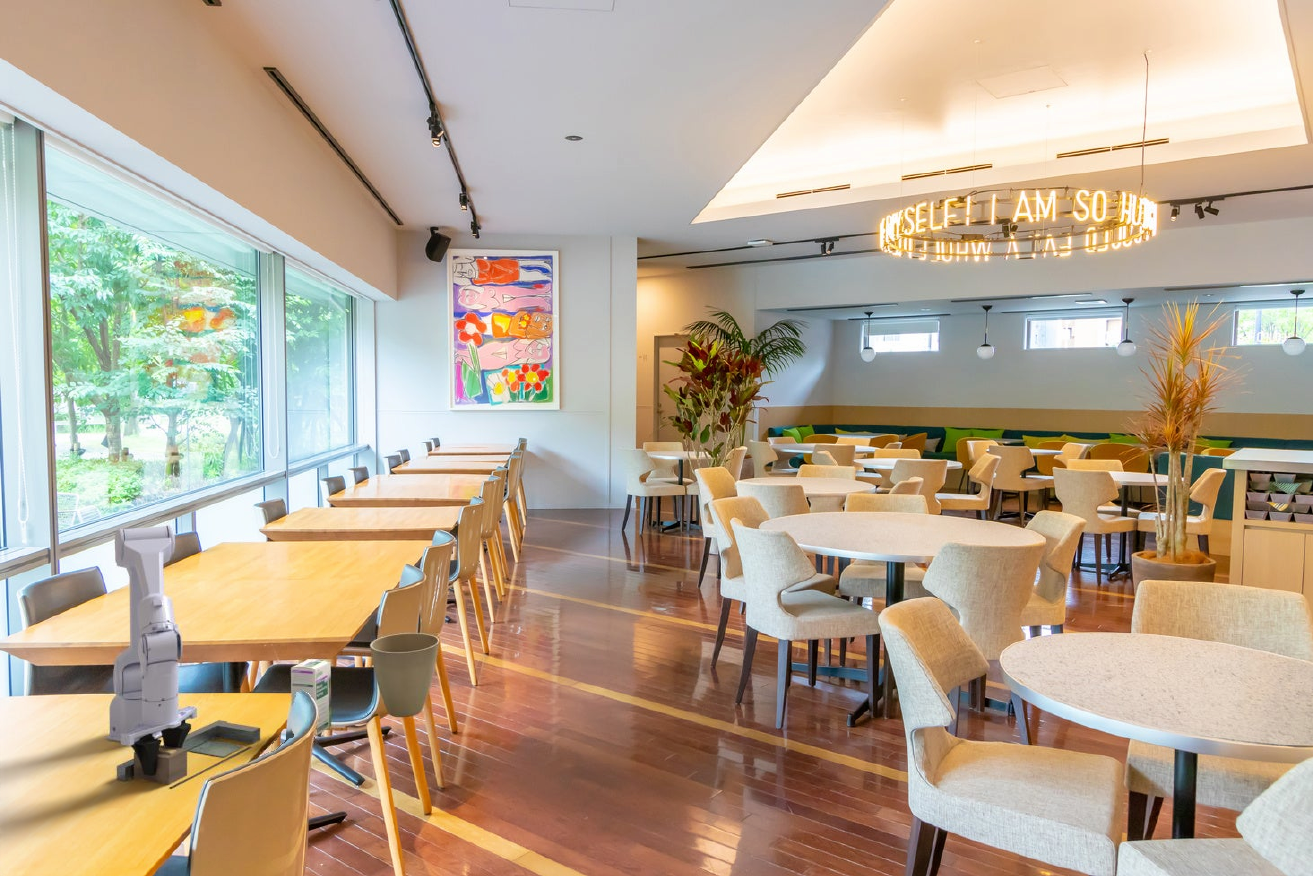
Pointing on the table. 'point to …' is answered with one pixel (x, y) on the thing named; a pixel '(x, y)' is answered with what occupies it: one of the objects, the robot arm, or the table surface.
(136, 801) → the table surface
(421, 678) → the plant pot
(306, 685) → the syrup box
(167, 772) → the taupe rectangular block
